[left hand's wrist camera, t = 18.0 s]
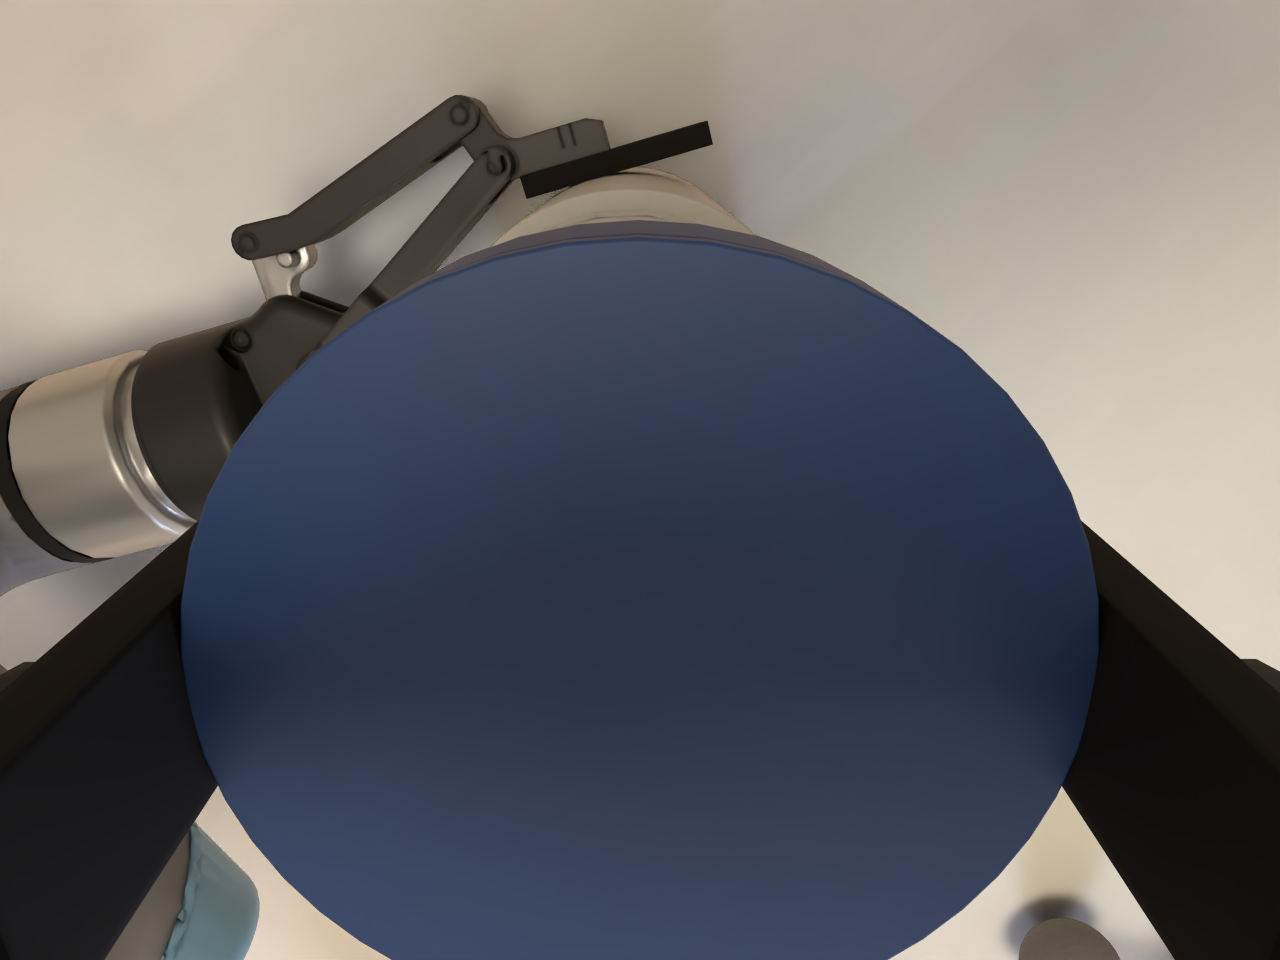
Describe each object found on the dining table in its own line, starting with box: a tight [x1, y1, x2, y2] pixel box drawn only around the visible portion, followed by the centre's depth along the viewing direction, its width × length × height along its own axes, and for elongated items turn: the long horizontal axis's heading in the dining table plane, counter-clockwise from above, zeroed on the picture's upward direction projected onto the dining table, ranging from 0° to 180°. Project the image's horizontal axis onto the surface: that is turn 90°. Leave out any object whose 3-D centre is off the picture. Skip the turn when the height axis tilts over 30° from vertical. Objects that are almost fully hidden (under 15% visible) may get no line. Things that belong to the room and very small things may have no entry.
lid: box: [181, 220, 1099, 960], centre depth 11 cm, size 11×11×2 cm
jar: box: [491, 167, 755, 247], centre depth 30 cm, size 10×10×18 cm
